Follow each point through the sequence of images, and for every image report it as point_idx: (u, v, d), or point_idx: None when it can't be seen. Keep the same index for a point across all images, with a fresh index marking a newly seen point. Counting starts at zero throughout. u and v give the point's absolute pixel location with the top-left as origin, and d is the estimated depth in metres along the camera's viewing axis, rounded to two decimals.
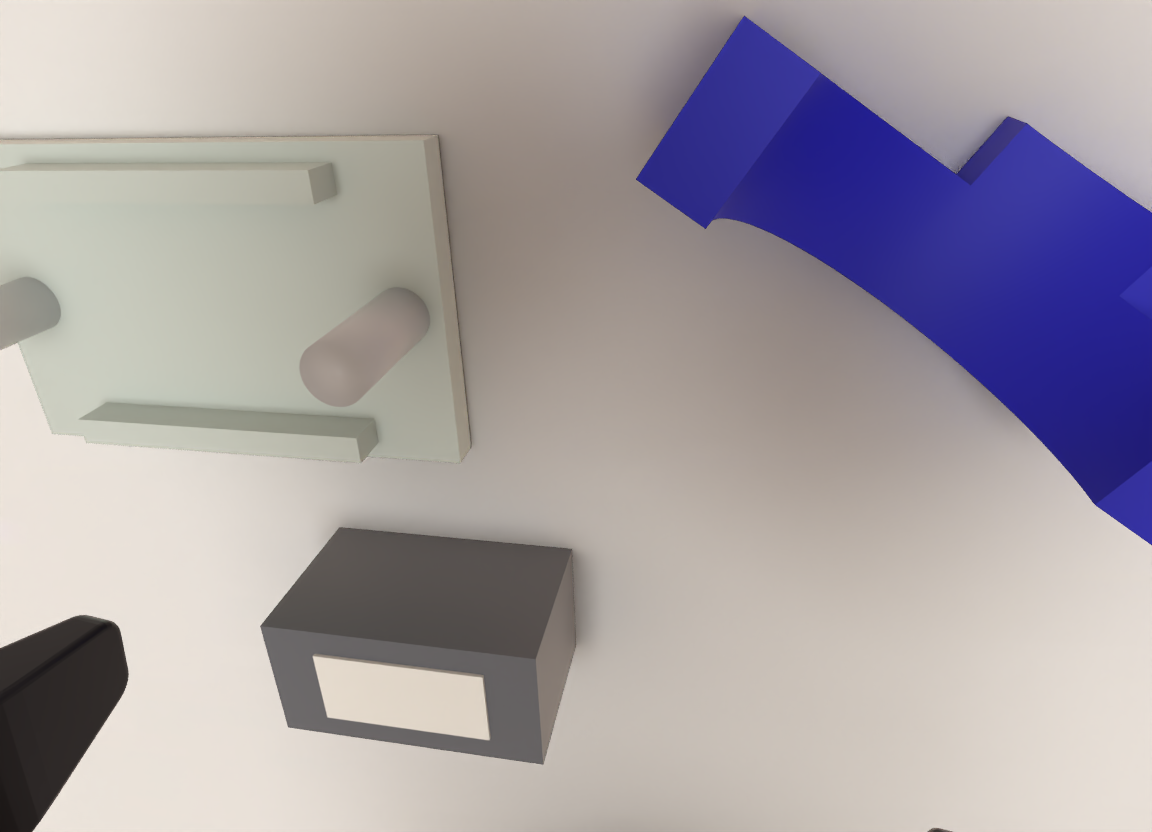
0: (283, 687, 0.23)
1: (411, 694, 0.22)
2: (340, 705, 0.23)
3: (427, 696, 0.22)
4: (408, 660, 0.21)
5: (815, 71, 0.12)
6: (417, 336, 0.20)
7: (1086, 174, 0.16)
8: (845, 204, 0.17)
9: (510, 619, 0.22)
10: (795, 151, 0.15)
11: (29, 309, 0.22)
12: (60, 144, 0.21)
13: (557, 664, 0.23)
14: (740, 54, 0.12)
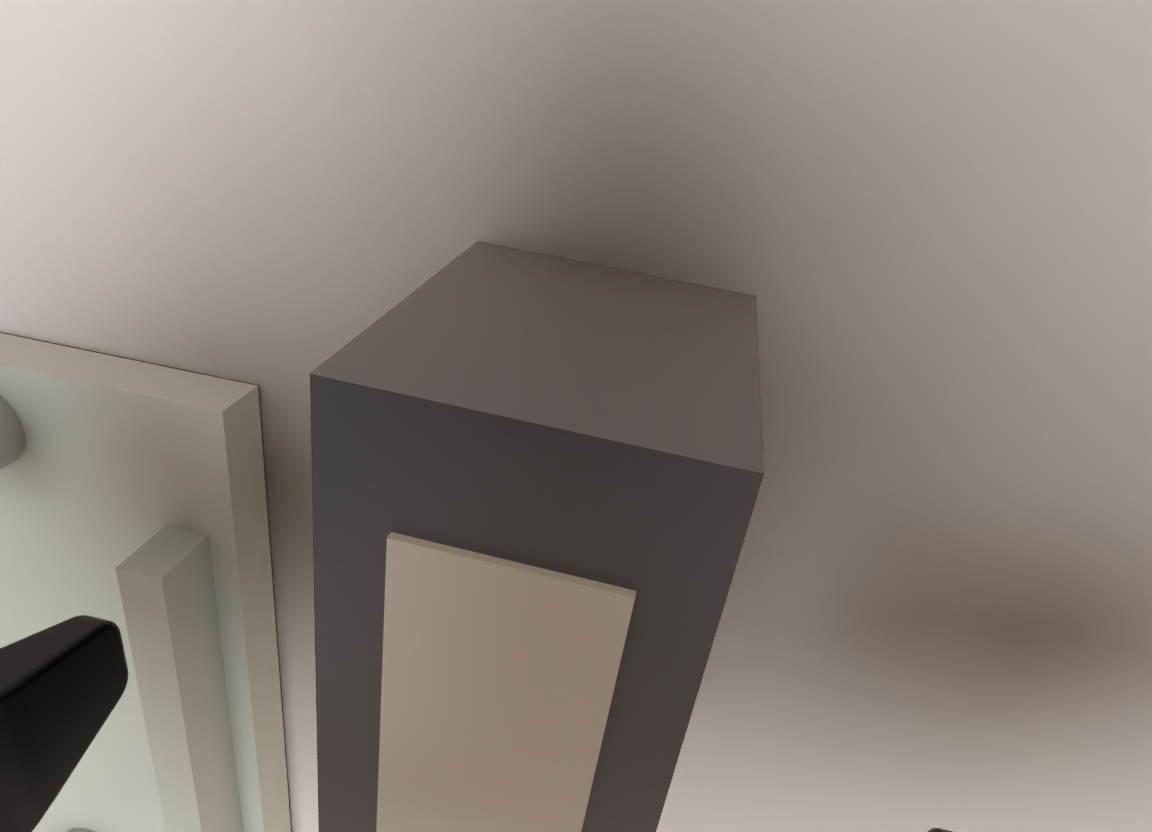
0: None
1: (469, 723, 0.08)
2: None
3: (471, 691, 0.08)
4: (369, 686, 0.08)
5: None
6: None
7: None
8: None
9: None
10: None
11: None
12: None
13: (607, 338, 0.09)
14: None
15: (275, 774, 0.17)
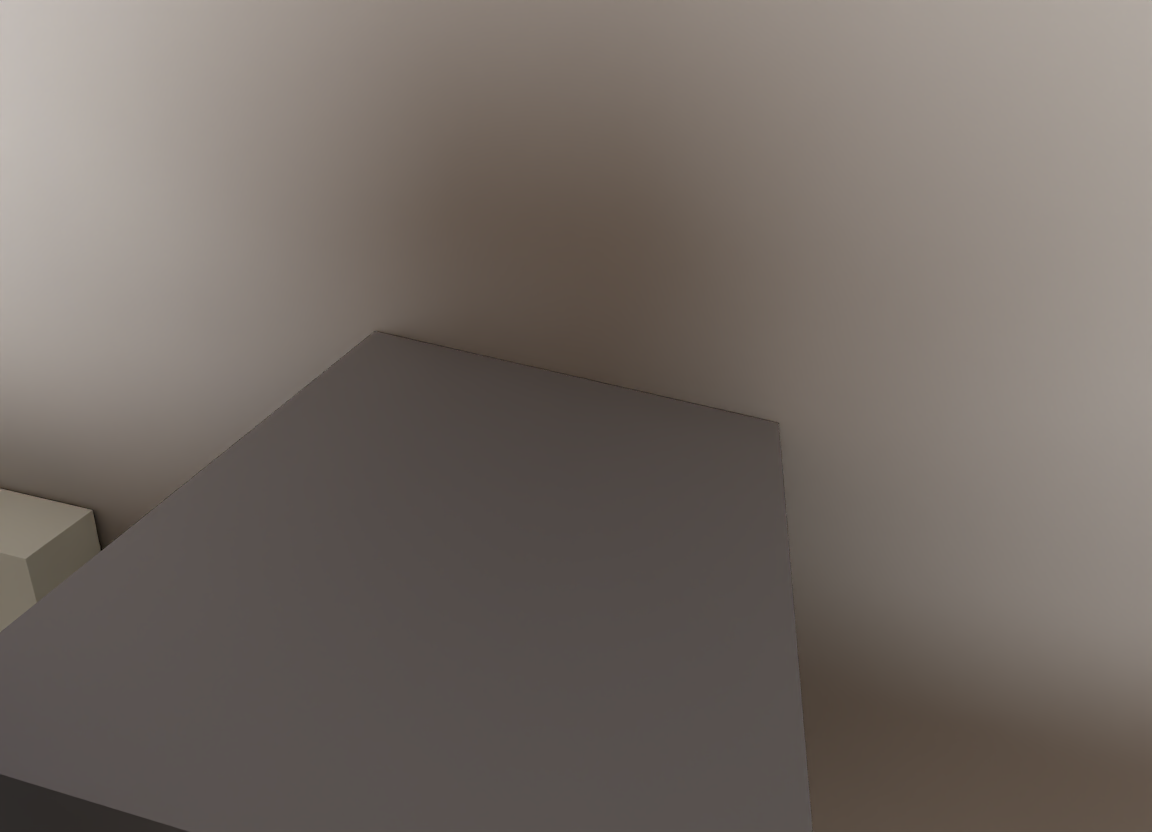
0: None
1: None
2: None
3: None
4: None
5: None
6: None
7: None
8: None
9: None
10: None
11: None
12: None
13: (535, 555, 0.05)
14: None
15: None
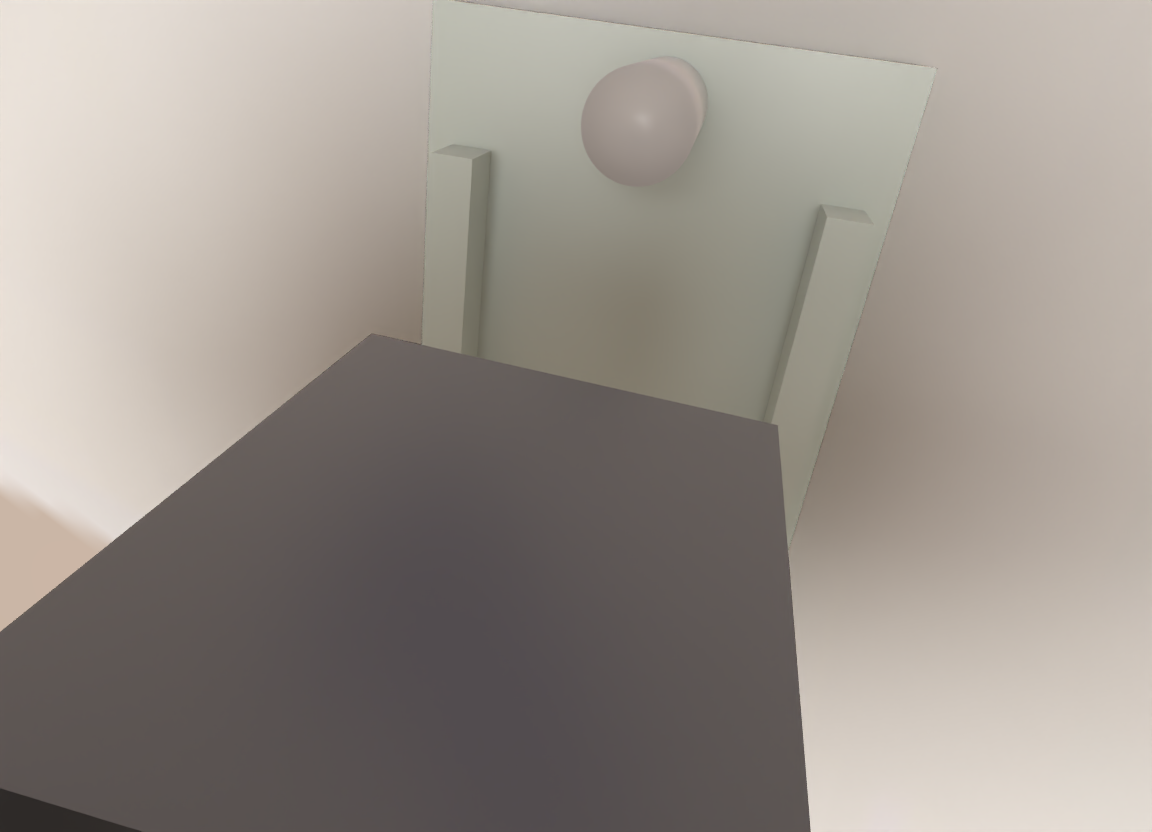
0: None
1: None
2: None
3: None
4: None
5: None
6: (680, 62, 0.13)
7: None
8: None
9: None
10: None
11: None
12: None
13: (531, 560, 0.05)
14: None
15: None
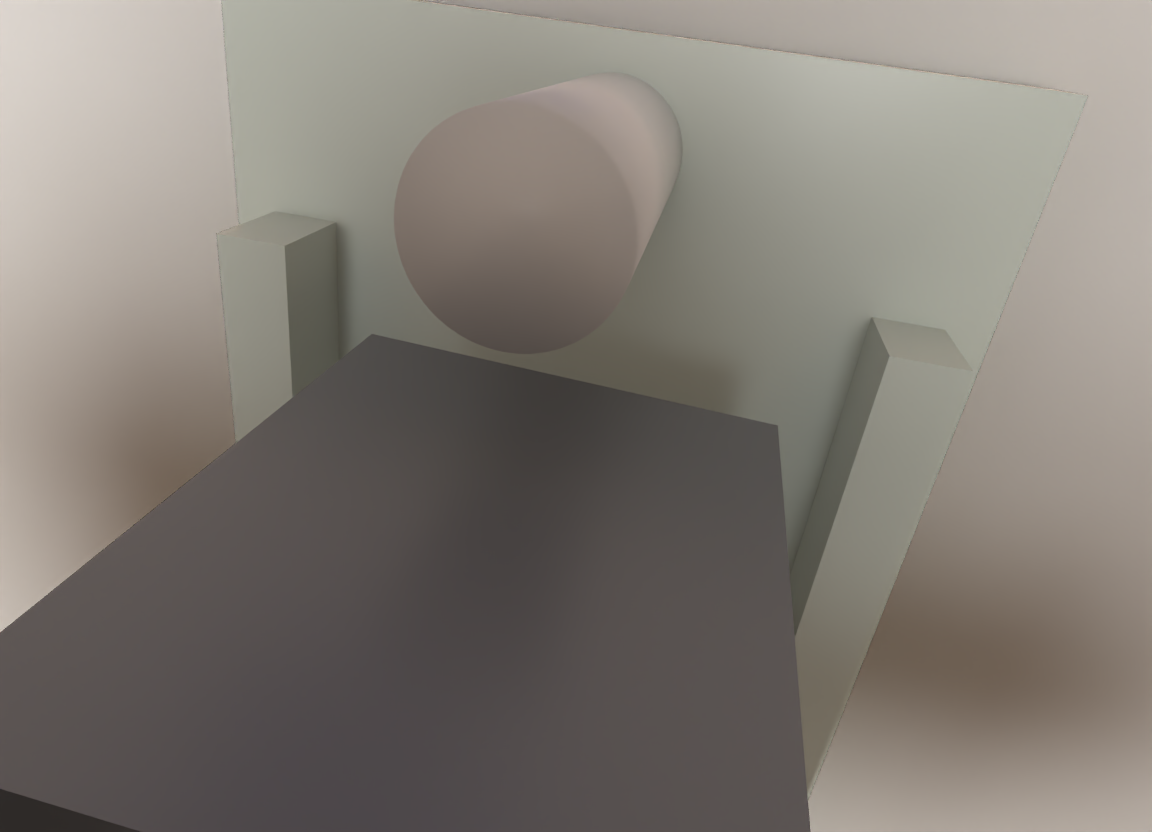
0: None
1: None
2: None
3: None
4: None
5: None
6: (630, 85, 0.07)
7: None
8: None
9: None
10: None
11: None
12: None
13: (531, 560, 0.05)
14: None
15: None
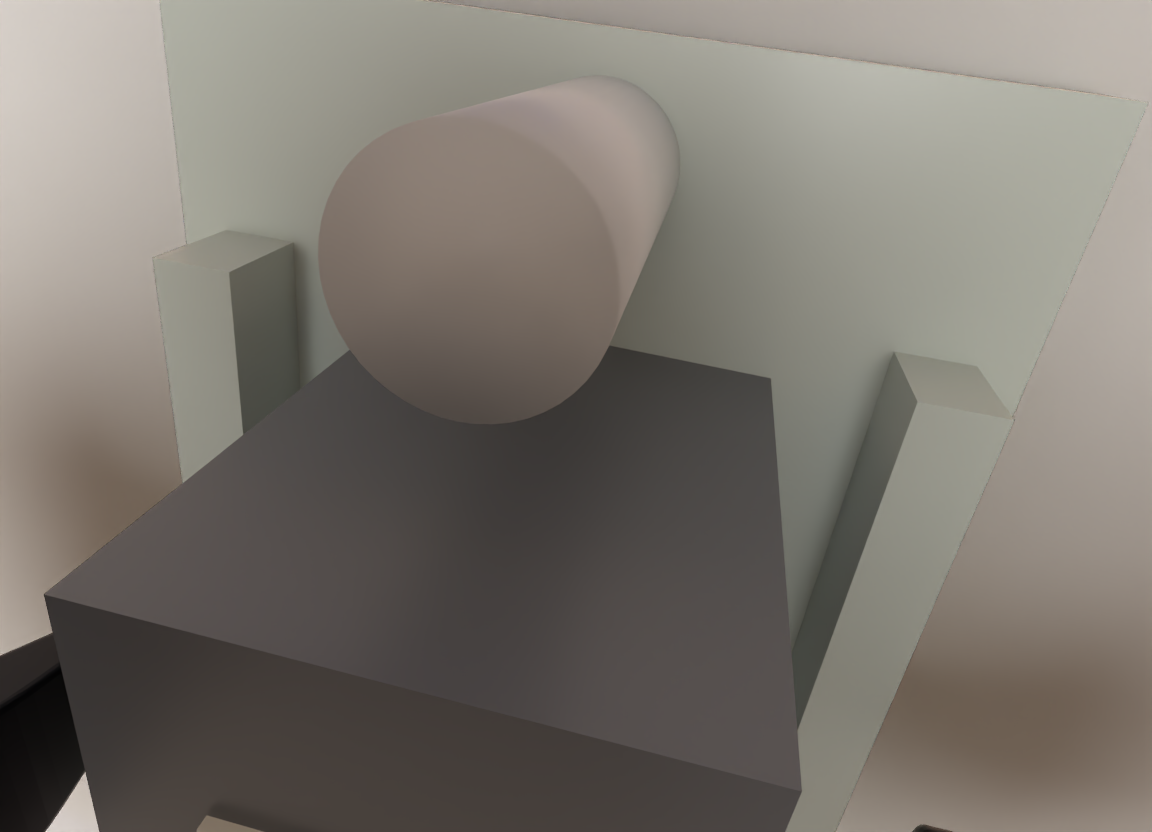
0: None
1: None
2: None
3: None
4: None
5: None
6: (619, 90, 0.06)
7: None
8: None
9: None
10: None
11: None
12: None
13: (558, 477, 0.06)
14: None
15: None
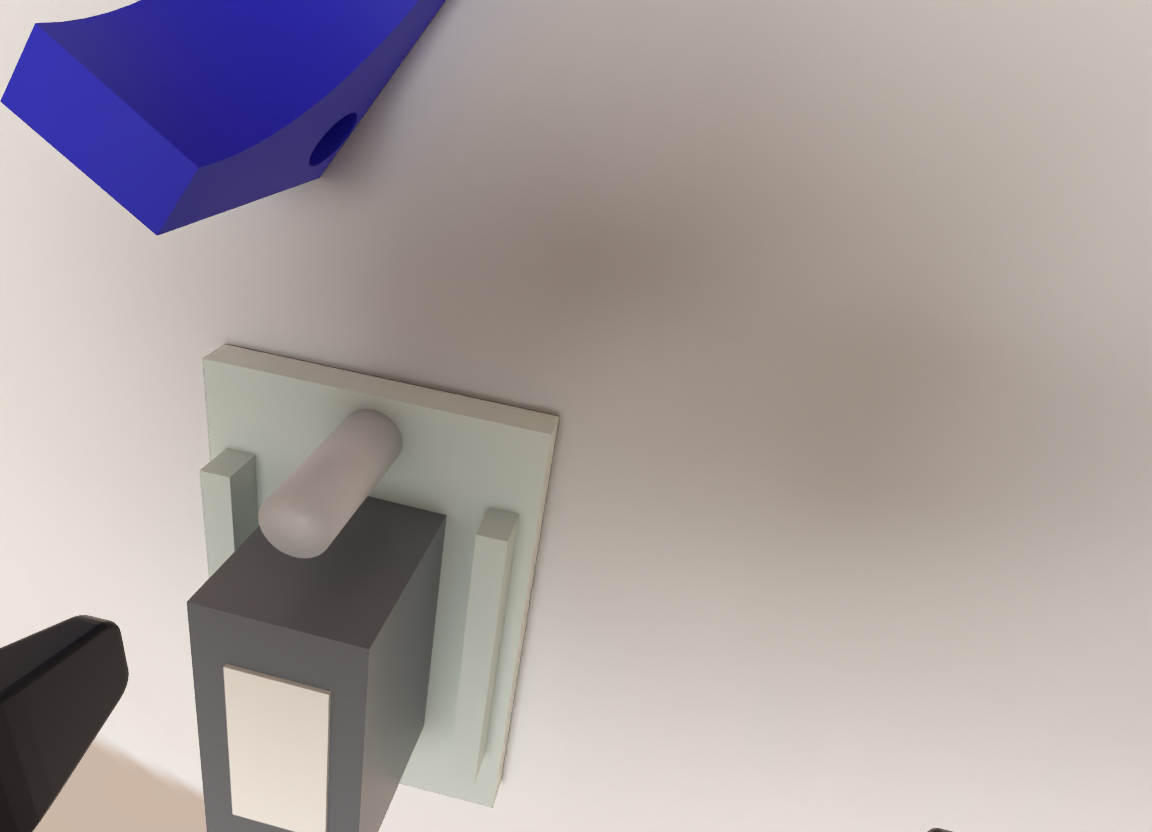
0: None
1: (268, 746, 0.18)
2: (302, 820, 0.19)
3: (267, 732, 0.17)
4: (222, 729, 0.18)
5: (33, 29, 0.12)
6: (367, 429, 0.19)
7: None
8: None
9: None
10: (227, 45, 0.14)
11: None
12: None
13: (339, 564, 0.18)
14: (32, 108, 0.12)
15: (514, 687, 0.23)
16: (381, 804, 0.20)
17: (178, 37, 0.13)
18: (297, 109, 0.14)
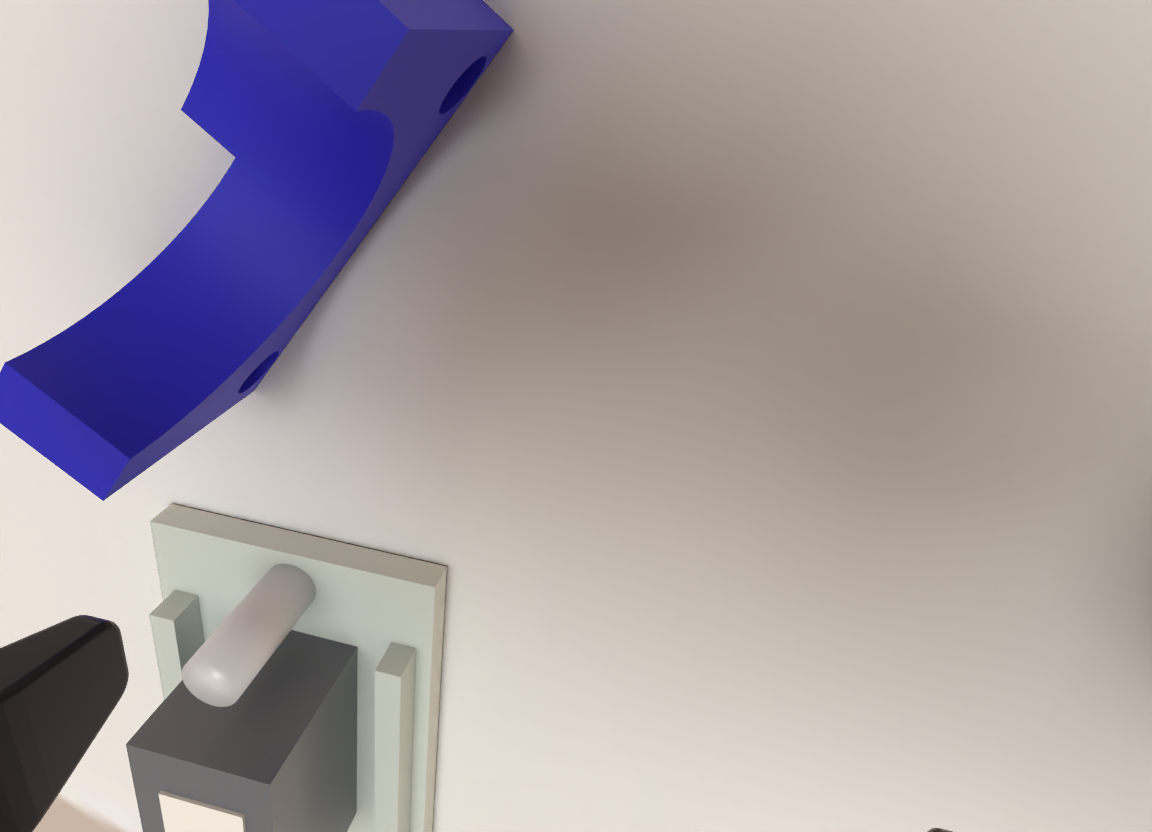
0: None
1: None
2: None
3: None
4: None
5: (3, 367, 0.16)
6: (282, 585, 0.22)
7: (208, 54, 0.16)
8: (247, 275, 0.18)
9: None
10: (160, 337, 0.18)
11: None
12: None
13: (257, 701, 0.22)
14: (5, 415, 0.16)
15: (431, 781, 0.27)
16: None
17: (120, 339, 0.17)
18: (216, 381, 0.18)
